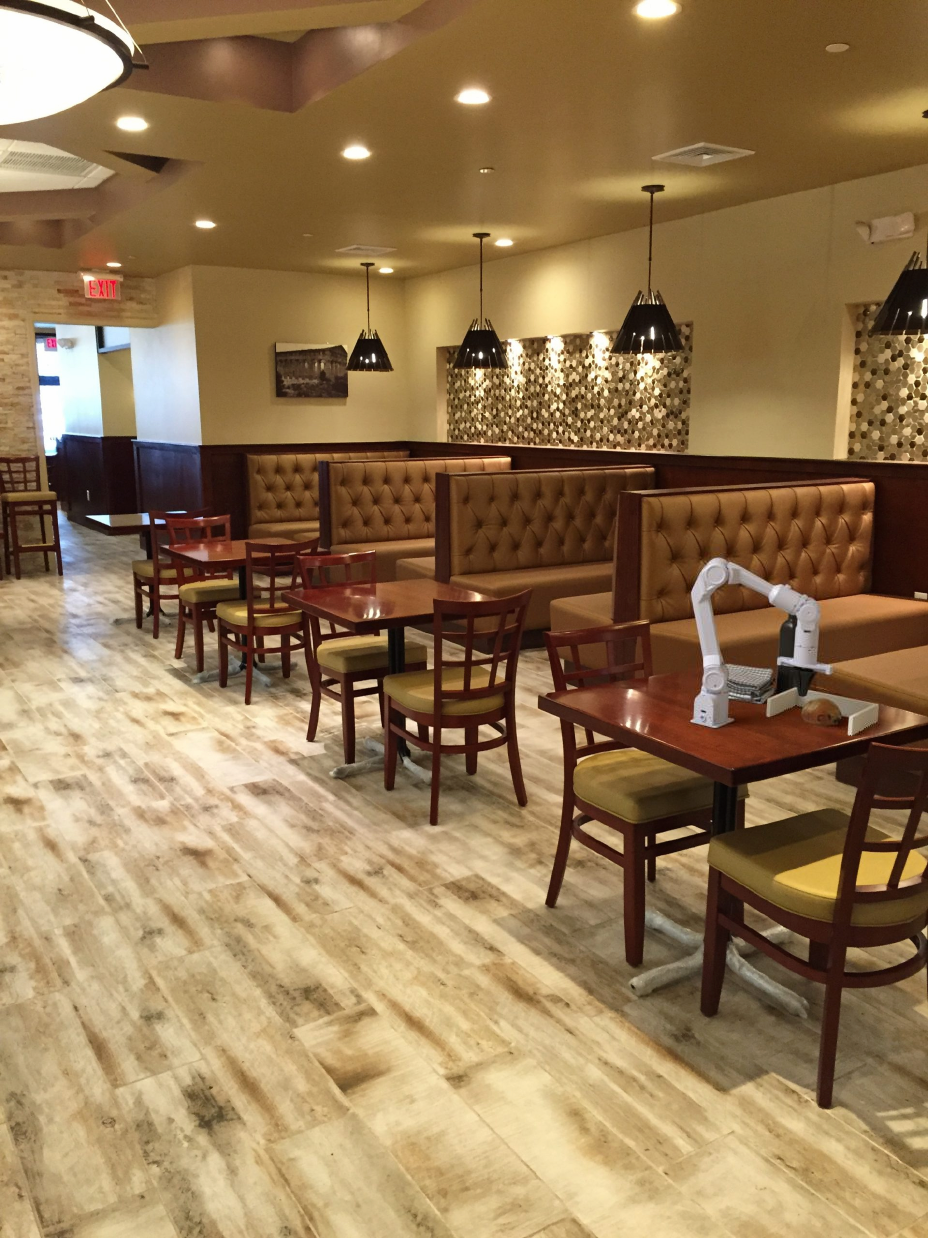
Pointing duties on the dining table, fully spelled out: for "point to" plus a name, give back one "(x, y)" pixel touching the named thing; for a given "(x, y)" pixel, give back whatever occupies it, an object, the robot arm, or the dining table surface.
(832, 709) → the bread roll
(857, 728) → the box
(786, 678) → the wine bottle
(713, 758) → the dining table surface
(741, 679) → the towel
